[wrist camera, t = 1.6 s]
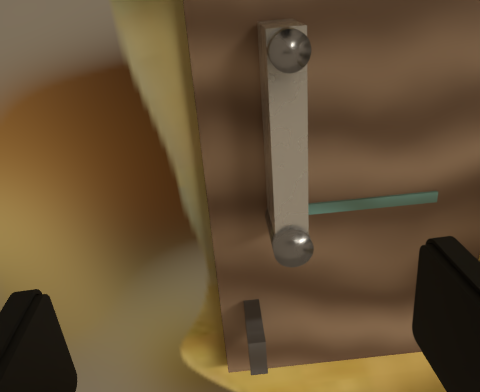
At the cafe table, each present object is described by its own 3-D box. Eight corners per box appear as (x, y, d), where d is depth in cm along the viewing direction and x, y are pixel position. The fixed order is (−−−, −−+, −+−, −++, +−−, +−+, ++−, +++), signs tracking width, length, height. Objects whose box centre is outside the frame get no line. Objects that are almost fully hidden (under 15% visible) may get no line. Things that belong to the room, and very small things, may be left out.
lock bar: (253, 21, 25) (263, 31, 20) (296, 18, 25) (315, 26, 20) (265, 231, 31) (275, 274, 26) (299, 227, 31) (315, 270, 26)
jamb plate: (181, -22, 25) (174, -23, 20) (522, -51, 26) (606, -59, 20) (227, 358, 39) (231, 420, 33) (452, 334, 39) (490, 391, 34)
